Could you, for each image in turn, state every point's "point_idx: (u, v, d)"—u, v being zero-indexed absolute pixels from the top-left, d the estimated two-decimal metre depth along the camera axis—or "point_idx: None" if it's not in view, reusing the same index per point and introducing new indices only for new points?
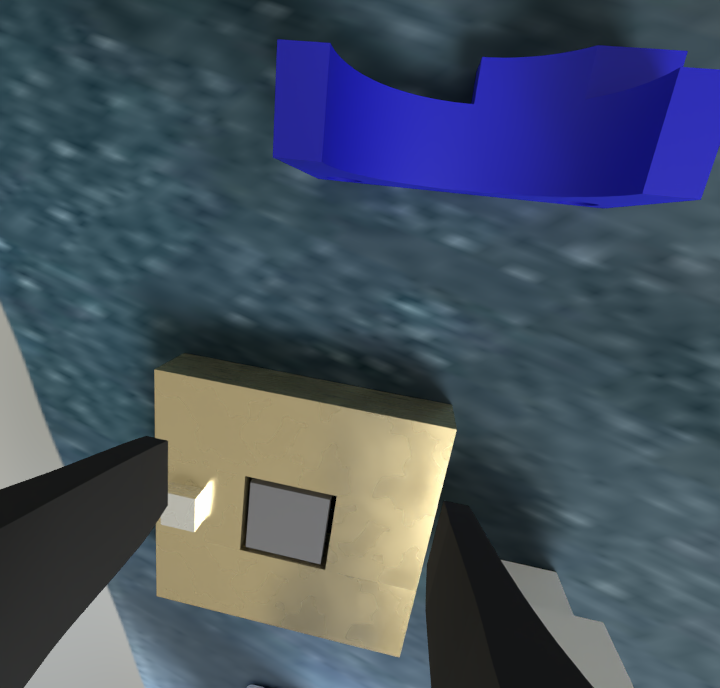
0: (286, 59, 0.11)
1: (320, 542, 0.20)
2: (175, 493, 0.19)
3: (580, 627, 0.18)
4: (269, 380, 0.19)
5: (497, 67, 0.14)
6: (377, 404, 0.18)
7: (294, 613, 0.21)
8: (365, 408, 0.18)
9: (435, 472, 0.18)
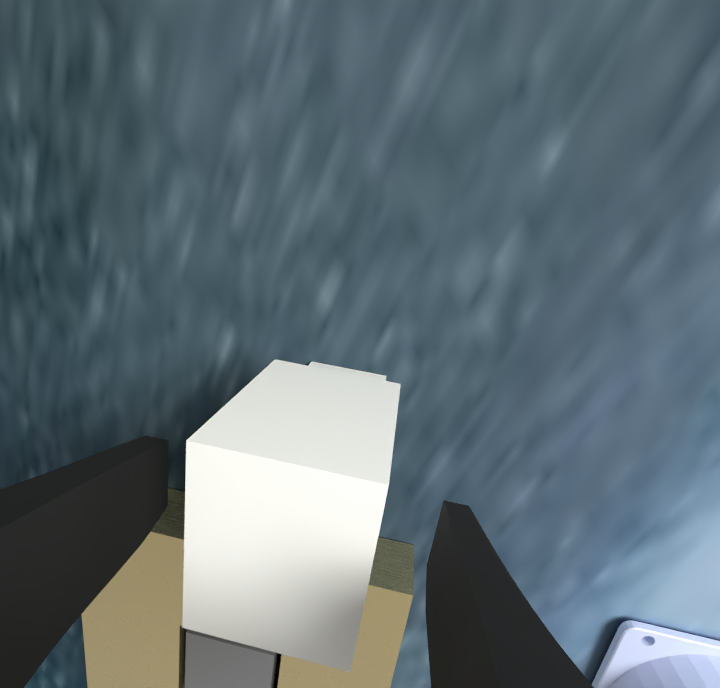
0: None
1: (243, 650, 0.17)
2: None
3: None
4: None
5: None
6: None
7: None
8: None
9: None
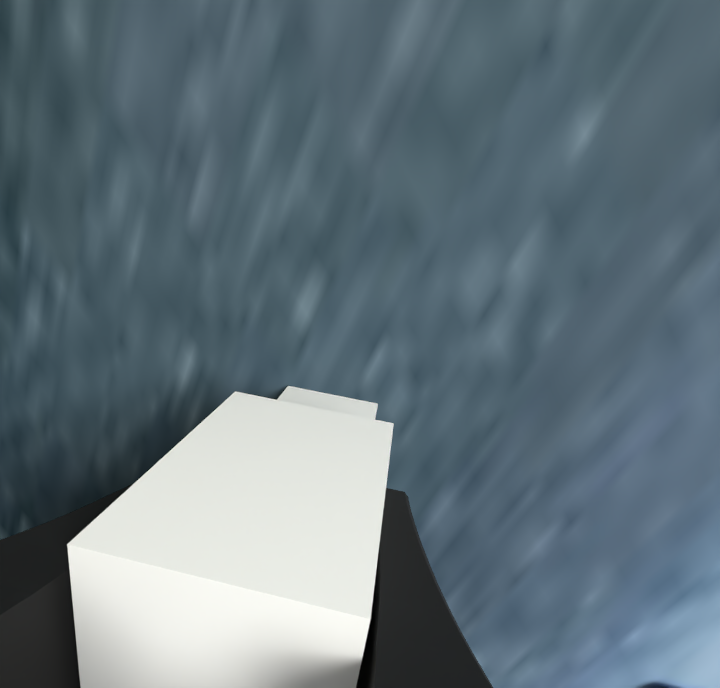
0: None
1: None
2: None
3: None
4: None
5: None
6: None
7: None
8: None
9: None
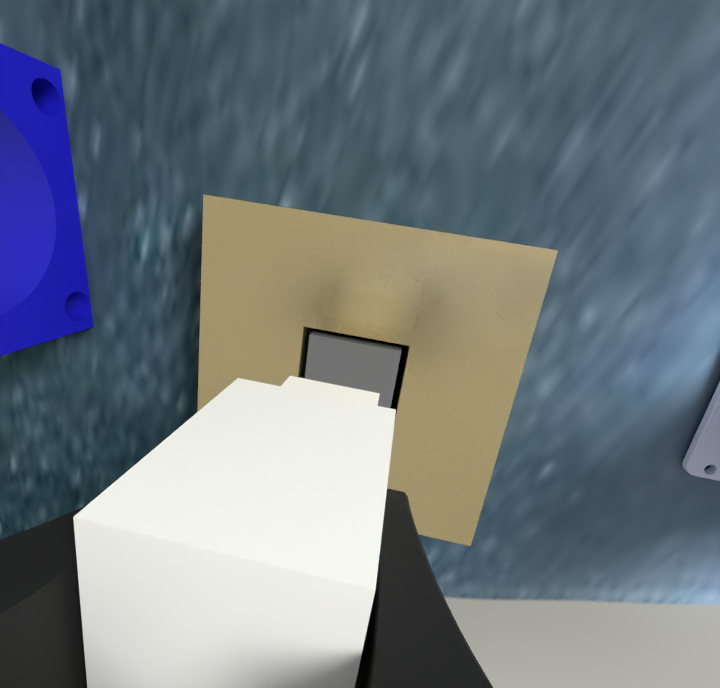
0: None
1: (369, 348, 0.17)
2: None
3: None
4: None
5: None
6: None
7: (484, 389, 0.17)
8: (203, 292, 0.17)
9: (257, 214, 0.16)
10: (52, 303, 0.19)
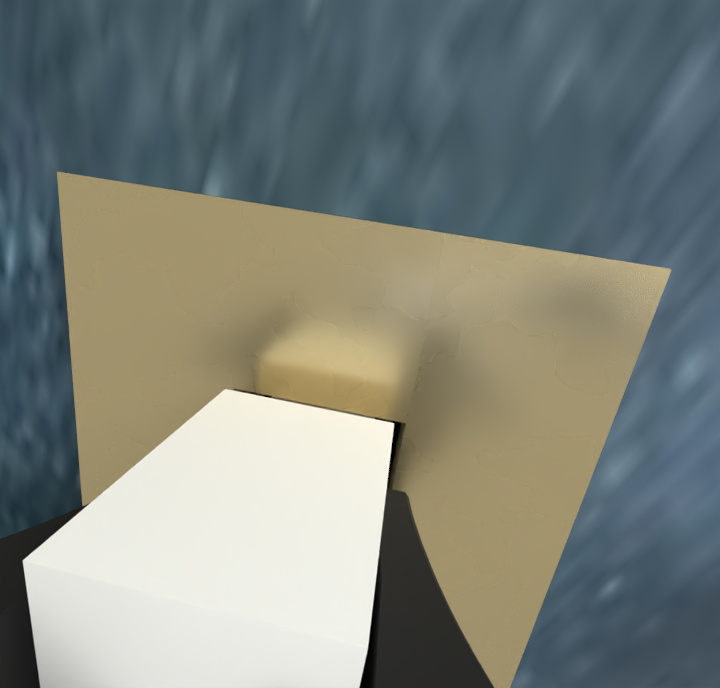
0: None
1: None
2: None
3: None
4: None
5: None
6: None
7: (529, 494, 0.10)
8: (77, 330, 0.11)
9: (146, 206, 0.09)
10: None
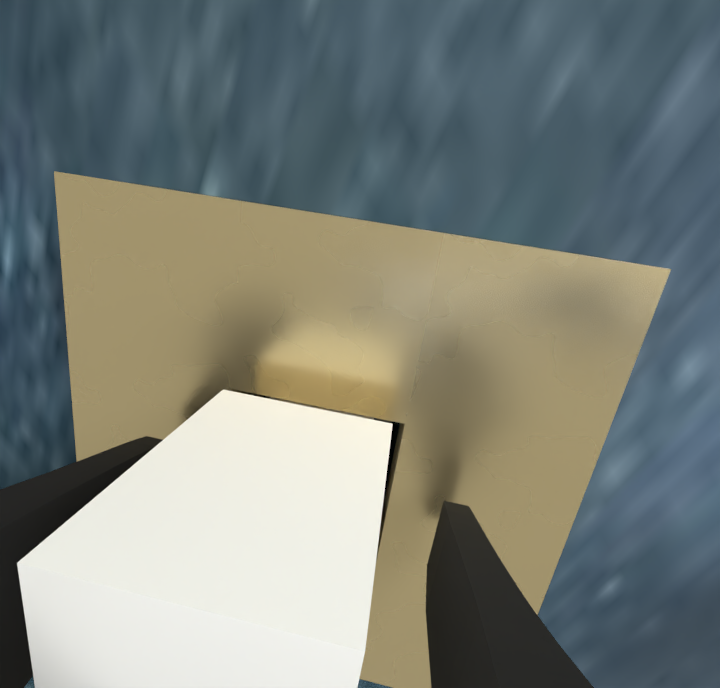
0: None
1: None
2: None
3: None
4: None
5: None
6: None
7: (528, 495, 0.10)
8: (74, 330, 0.11)
9: (144, 205, 0.09)
10: None
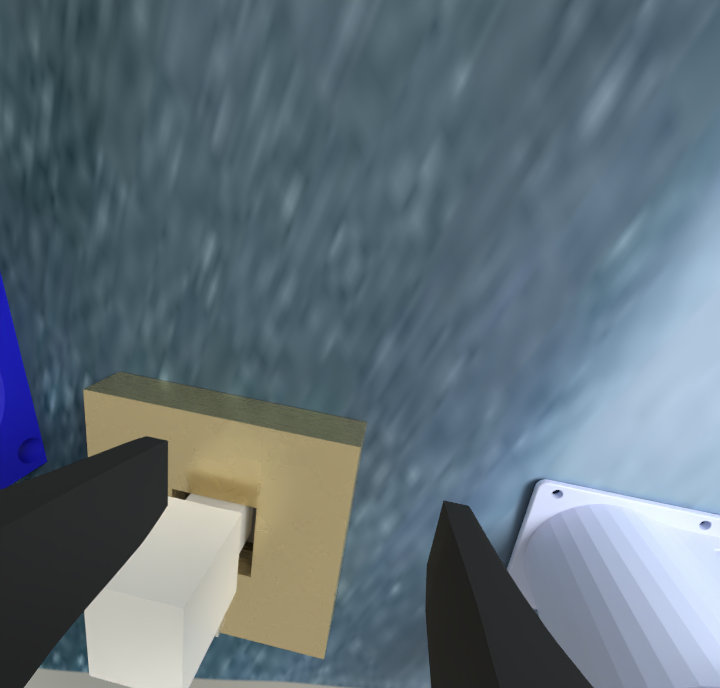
0: None
1: None
2: None
3: None
4: None
5: None
6: None
7: (319, 543, 0.20)
8: None
9: (126, 406, 0.20)
10: (5, 457, 0.22)
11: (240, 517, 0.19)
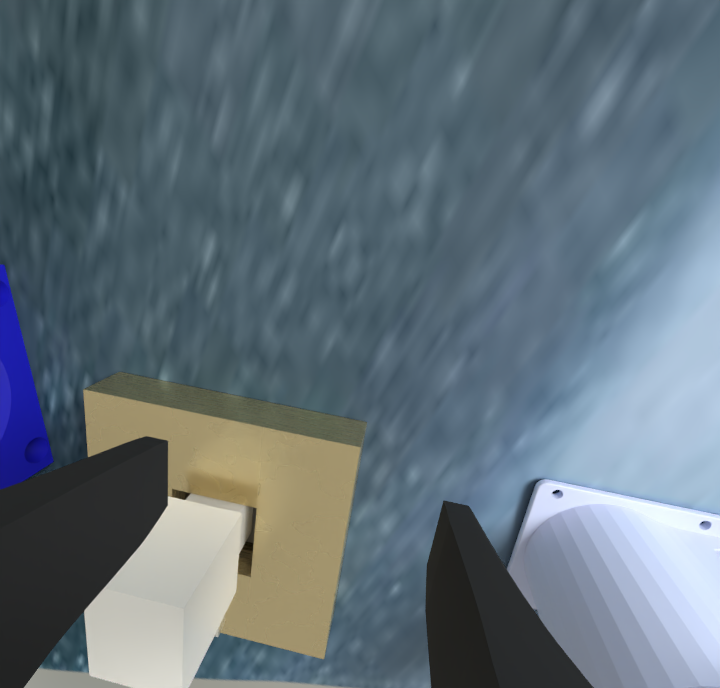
0: None
1: None
2: None
3: None
4: None
5: None
6: None
7: (319, 543, 0.20)
8: None
9: (126, 406, 0.20)
10: (12, 457, 0.22)
11: (240, 517, 0.19)
